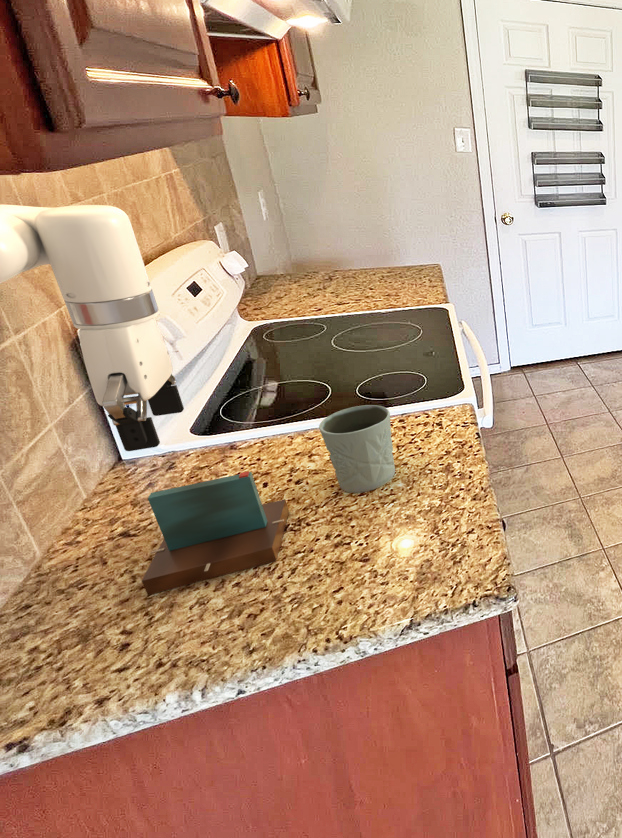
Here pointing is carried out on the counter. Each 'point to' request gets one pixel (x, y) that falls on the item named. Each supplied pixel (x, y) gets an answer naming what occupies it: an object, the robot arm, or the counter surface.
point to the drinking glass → (360, 447)
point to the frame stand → (218, 554)
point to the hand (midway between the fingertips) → (156, 429)
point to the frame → (208, 510)
